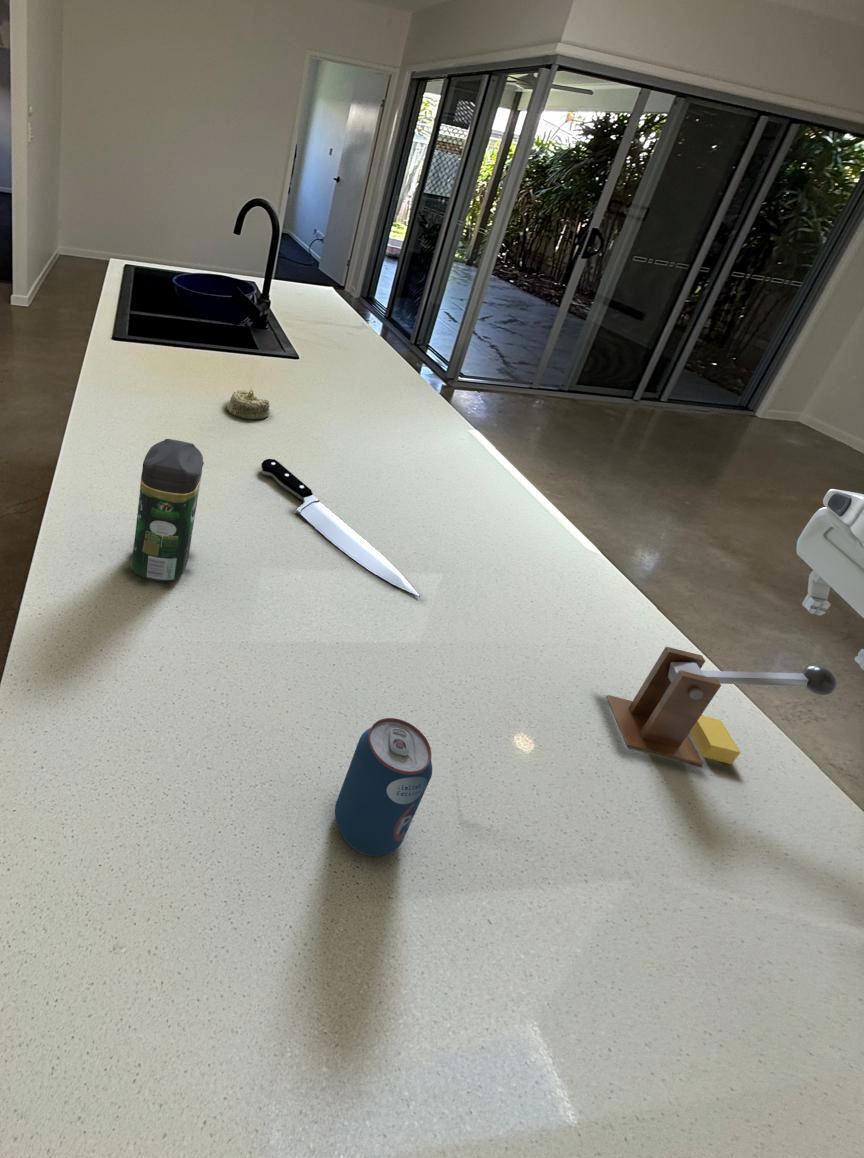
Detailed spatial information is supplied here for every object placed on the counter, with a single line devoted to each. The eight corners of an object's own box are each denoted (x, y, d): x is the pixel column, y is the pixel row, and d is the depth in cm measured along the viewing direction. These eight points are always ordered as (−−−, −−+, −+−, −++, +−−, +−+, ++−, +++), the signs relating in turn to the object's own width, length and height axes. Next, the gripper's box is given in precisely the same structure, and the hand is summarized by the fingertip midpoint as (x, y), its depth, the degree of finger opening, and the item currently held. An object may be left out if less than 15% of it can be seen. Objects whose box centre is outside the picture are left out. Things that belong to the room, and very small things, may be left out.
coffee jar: (139, 539, 99) (153, 429, 91) (191, 549, 99) (209, 440, 91) (123, 578, 90) (137, 461, 82) (180, 589, 90) (199, 473, 82)
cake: (253, 426, 144) (256, 404, 142) (217, 410, 149) (220, 389, 146) (278, 412, 152) (281, 391, 149) (242, 397, 156) (245, 377, 153)
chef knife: (402, 608, 97) (405, 597, 96) (248, 473, 124) (249, 462, 123) (426, 596, 100) (429, 584, 99) (271, 466, 127) (272, 456, 126)
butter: (709, 736, 84) (721, 719, 83) (728, 769, 80) (740, 752, 79) (682, 729, 85) (693, 712, 83) (699, 761, 80) (711, 745, 79)
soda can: (401, 873, 61) (441, 788, 55) (328, 851, 61) (360, 765, 56) (400, 805, 67) (435, 723, 62) (334, 786, 67) (363, 703, 62)
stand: (671, 718, 86) (715, 651, 81) (698, 770, 79) (748, 700, 74) (603, 700, 86) (642, 633, 81) (623, 751, 79) (668, 680, 74)
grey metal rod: (823, 681, 77) (829, 659, 76) (840, 701, 75) (847, 680, 73) (665, 676, 81) (669, 656, 79) (676, 696, 78) (680, 675, 76)
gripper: (1035, 605, 57) (938, 717, 63) (875, 495, 76) (811, 589, 82) (960, 589, 58) (870, 701, 64) (819, 482, 76) (760, 577, 82)
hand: (836, 637), depth 73 cm, fingers open, 8 cm apart
